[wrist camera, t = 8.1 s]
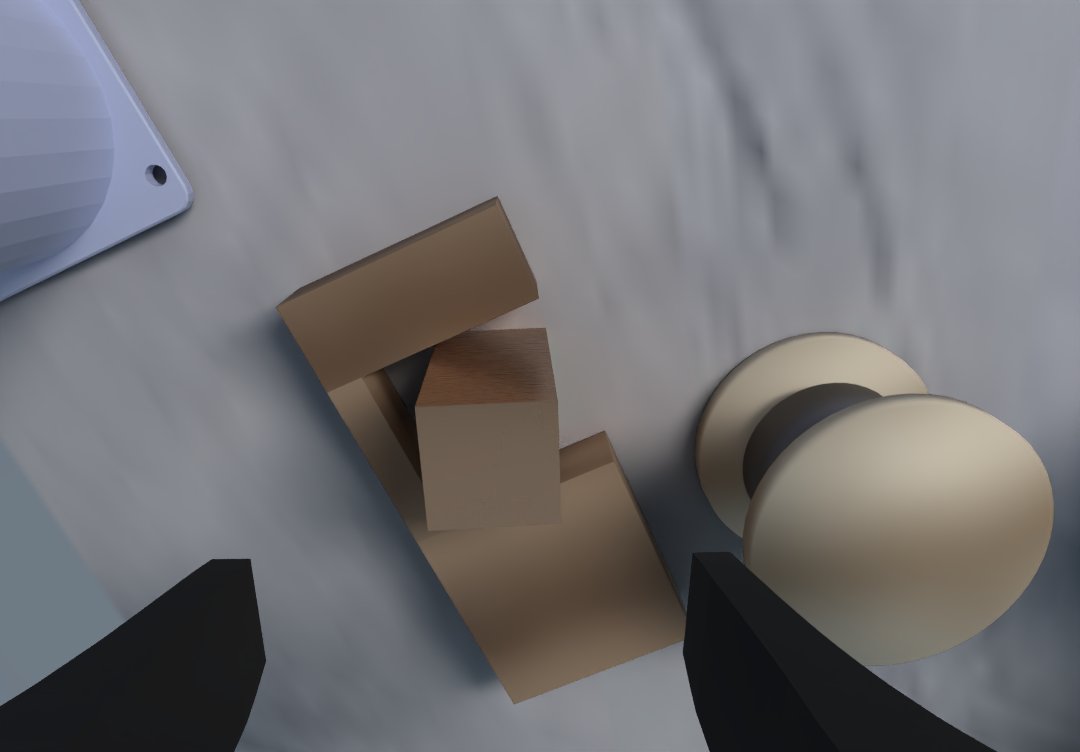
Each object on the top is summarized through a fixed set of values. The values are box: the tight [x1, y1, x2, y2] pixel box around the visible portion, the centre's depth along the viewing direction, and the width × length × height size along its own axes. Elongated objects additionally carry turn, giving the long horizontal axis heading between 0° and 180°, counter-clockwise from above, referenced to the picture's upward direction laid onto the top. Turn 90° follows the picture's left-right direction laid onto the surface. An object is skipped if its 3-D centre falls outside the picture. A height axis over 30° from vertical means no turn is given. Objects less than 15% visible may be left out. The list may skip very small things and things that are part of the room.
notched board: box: [276, 196, 687, 704], centre depth 20 cm, size 14×6×2 cm, turn 24°
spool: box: [695, 332, 1054, 666], centre depth 19 cm, size 7×7×6 cm
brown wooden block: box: [415, 328, 562, 531], centre depth 18 cm, size 3×3×6 cm
